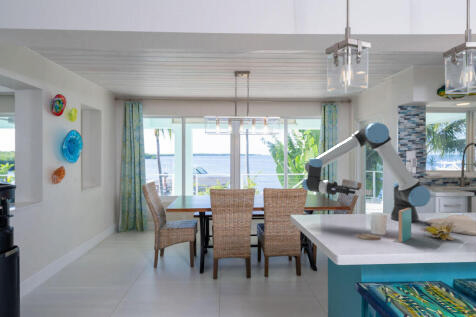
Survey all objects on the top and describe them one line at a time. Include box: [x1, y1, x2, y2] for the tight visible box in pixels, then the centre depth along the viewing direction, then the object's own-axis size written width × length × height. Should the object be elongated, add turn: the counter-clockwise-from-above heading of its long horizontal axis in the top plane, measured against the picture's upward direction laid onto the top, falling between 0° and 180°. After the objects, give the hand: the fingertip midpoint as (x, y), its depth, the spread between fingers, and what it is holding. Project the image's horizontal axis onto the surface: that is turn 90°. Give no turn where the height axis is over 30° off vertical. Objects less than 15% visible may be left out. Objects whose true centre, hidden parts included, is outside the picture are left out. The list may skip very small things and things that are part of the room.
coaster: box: [355, 233, 382, 241], centre depth 150 cm, size 11×11×1 cm
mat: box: [392, 235, 446, 250], centre depth 141 cm, size 16×17×1 cm
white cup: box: [369, 212, 388, 236], centre depth 158 cm, size 8×8×10 cm
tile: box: [398, 208, 412, 244], centre depth 144 cm, size 12×2×14 cm, turn 134°
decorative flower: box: [420, 220, 458, 241], centre depth 149 cm, size 15×11×10 cm
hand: (367, 193), depth 163 cm, fingers open, 13 cm apart
